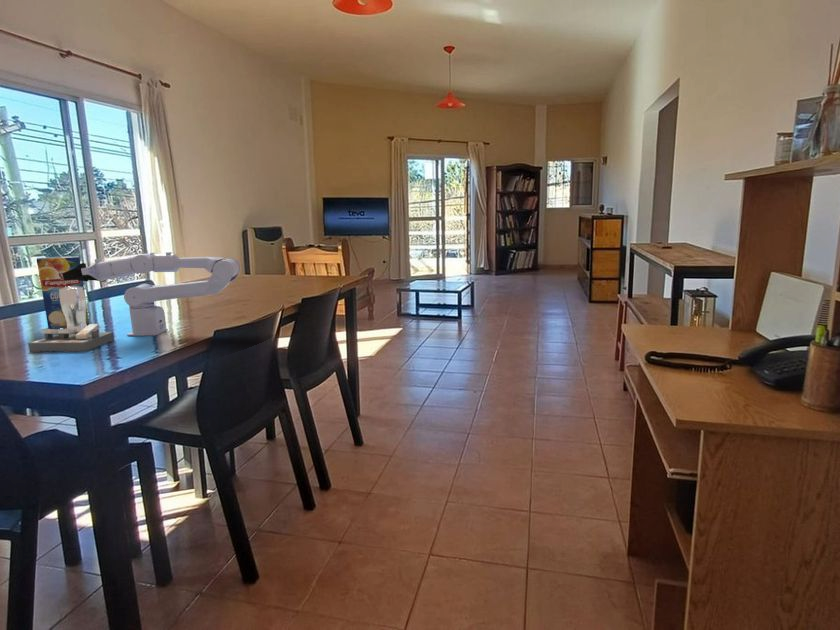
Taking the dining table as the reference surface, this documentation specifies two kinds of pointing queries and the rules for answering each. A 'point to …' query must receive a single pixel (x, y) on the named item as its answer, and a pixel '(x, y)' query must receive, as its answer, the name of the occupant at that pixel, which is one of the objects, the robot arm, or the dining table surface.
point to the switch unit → (70, 342)
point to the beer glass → (73, 306)
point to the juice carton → (56, 287)
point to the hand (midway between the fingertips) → (71, 277)
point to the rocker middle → (67, 331)
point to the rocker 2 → (87, 331)
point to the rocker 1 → (49, 331)
